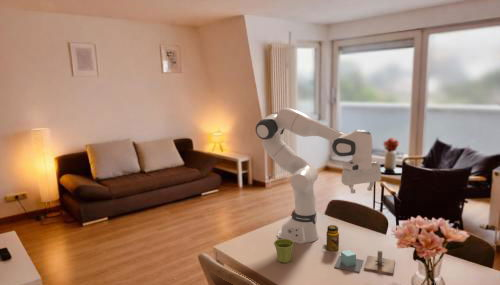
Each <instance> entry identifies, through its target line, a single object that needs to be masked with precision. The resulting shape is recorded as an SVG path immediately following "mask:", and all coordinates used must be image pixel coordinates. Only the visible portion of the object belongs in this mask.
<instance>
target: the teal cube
mask: <svg viewBox="0 0 500 285" xmlns="http://www.w3.org/2000/svg"><path fill="white" fill-rule="evenodd" d="M340 256H341V262H342V263H343V264H344V265H346V266H352V265H356V259H357V254H356V253H355V252H354V251H353V250H351V249H347V250H343V251H340Z"/></svg>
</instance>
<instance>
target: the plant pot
mask: <svg viewBox="0 0 500 285" xmlns="http://www.w3.org/2000/svg"><path fill="white" fill-rule="evenodd" d="M294 244H295V242H293V241H292V240H289V239H281V238H278V239H277V240H275V241H274V242H273V245H274V247H275V250H276V256H277V261H278V262H279V263H283V264H284V263H290V262H291V260H292V252H293V248H294Z"/></svg>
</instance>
